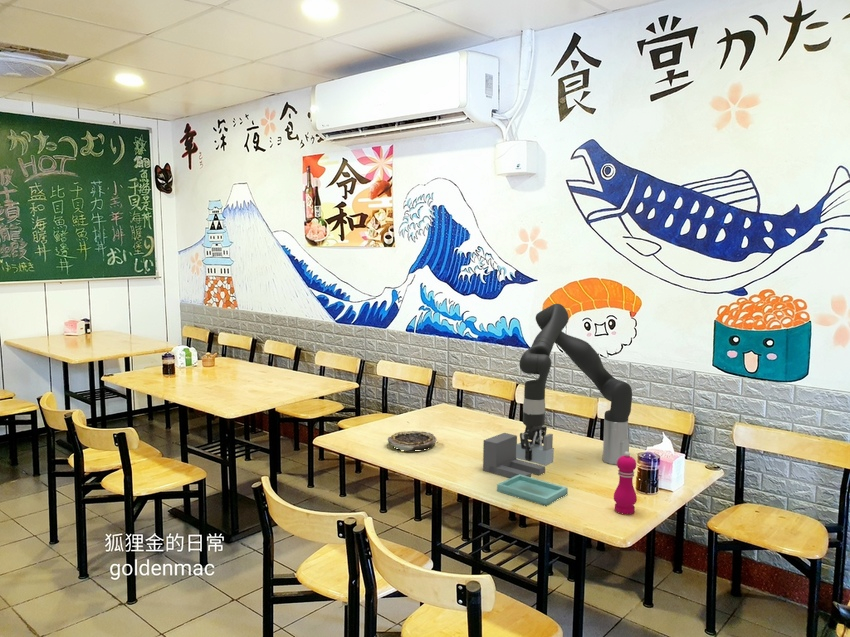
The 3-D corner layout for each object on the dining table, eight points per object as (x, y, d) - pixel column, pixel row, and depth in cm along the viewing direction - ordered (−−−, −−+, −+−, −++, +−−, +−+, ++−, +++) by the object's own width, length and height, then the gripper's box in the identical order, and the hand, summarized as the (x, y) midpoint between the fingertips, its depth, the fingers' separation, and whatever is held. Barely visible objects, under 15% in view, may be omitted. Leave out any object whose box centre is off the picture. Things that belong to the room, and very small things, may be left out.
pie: (456, 450, 279) (456, 439, 279) (400, 462, 265) (400, 450, 264) (421, 434, 303) (421, 424, 302) (368, 444, 288) (368, 433, 288)
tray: (567, 494, 229) (567, 487, 229) (546, 506, 218) (546, 498, 218) (519, 480, 242) (519, 474, 242) (497, 491, 232) (497, 484, 231)
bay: (545, 472, 251) (545, 442, 250) (524, 482, 240) (525, 450, 239) (503, 461, 263) (504, 432, 262) (483, 470, 253) (483, 440, 252)
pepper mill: (608, 510, 215) (611, 451, 213) (620, 504, 220) (622, 446, 218) (629, 517, 210) (631, 456, 208) (640, 511, 215) (642, 451, 213)
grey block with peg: (553, 462, 227) (554, 434, 226) (545, 465, 223) (546, 437, 222) (523, 454, 234) (524, 427, 233) (515, 458, 231) (516, 430, 230)
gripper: (535, 405, 235) (534, 451, 237) (513, 412, 224) (512, 461, 226) (554, 409, 230) (552, 456, 232) (532, 416, 219) (530, 466, 221)
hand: (532, 458), depth 229 cm, fingers closed on grey block with peg, 5 cm apart
